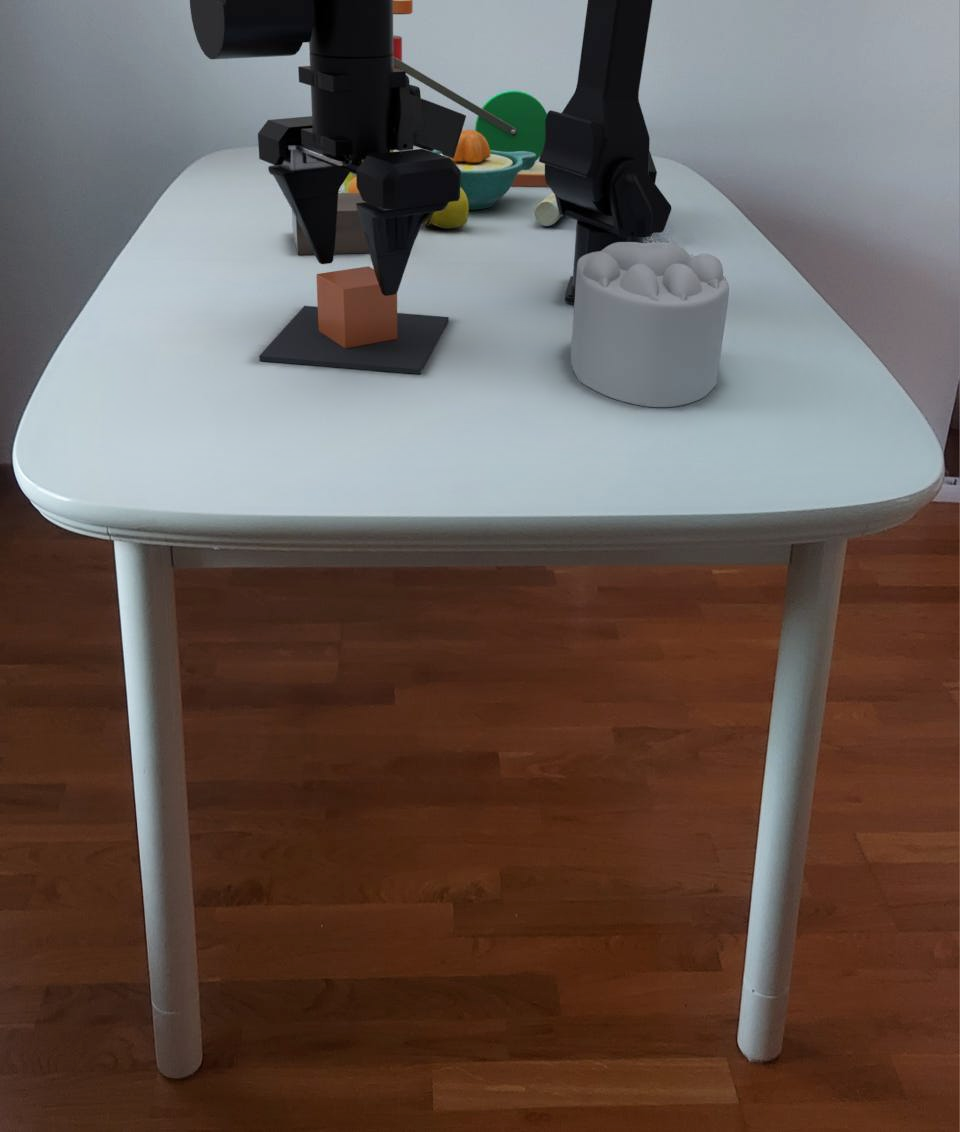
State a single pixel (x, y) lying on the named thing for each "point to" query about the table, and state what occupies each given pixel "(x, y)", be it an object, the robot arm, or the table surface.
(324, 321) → the top block
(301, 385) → the table surface
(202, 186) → the table surface
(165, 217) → the table surface
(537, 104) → the crank mechanism
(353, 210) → the base block
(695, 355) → the lumpy-topped squat cylinder
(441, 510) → the table surface
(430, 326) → the mat
